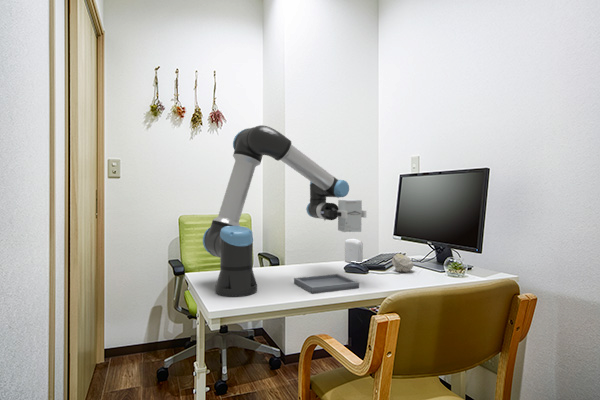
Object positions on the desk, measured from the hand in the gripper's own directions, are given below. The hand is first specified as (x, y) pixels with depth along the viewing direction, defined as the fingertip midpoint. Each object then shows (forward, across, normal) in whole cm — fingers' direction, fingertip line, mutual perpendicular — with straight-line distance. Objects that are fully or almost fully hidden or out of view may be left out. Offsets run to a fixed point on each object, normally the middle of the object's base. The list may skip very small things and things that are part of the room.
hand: (356, 214), depth 147 cm
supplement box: (-5, 0, -7) cm, 9 cm away
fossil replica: (-15, -35, -28) cm, 48 cm away
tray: (-5, +11, -28) cm, 30 cm away
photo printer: (-41, -25, -28) cm, 56 cm away
